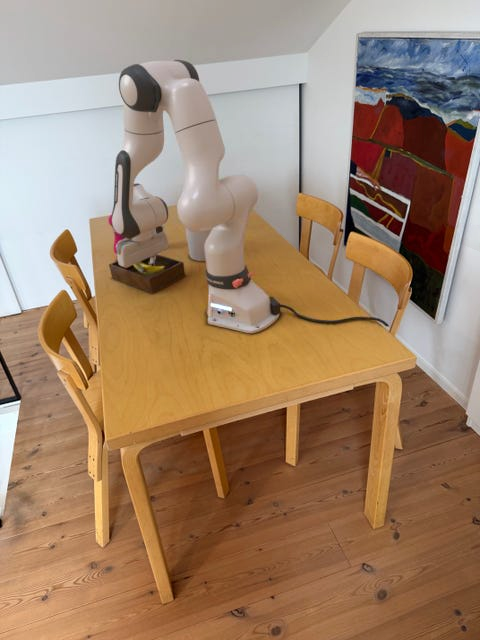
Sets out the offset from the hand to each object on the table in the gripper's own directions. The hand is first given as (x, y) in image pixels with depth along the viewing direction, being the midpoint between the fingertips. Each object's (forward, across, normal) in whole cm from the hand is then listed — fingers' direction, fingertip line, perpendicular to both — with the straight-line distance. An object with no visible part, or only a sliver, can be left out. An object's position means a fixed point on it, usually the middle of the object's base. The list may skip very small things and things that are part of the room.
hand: (147, 269), depth 162 cm
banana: (+2, 0, 0) cm, 2 cm away
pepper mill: (+3, +6, +22) cm, 23 cm away
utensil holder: (+3, +26, -4) cm, 27 cm away
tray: (+3, 0, 0) cm, 3 cm away
